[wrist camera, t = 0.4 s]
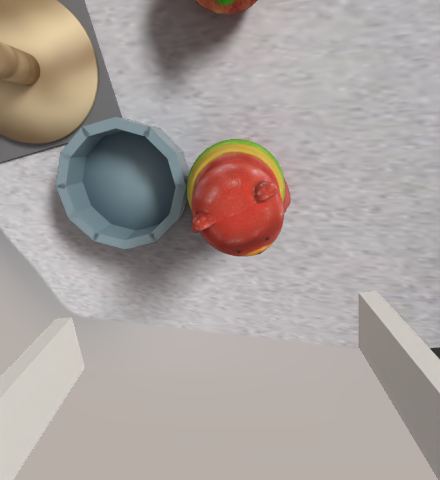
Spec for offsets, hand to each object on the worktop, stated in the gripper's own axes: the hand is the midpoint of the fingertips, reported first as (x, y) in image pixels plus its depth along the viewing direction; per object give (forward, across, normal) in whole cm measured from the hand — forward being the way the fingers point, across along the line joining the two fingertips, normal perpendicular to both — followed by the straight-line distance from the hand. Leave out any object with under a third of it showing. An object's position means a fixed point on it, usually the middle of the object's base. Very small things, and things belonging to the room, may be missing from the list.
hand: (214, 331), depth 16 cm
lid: (+26, -19, +18) cm, 37 cm away
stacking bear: (+27, +2, +3) cm, 27 cm away
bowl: (+26, -10, +5) cm, 29 cm away
